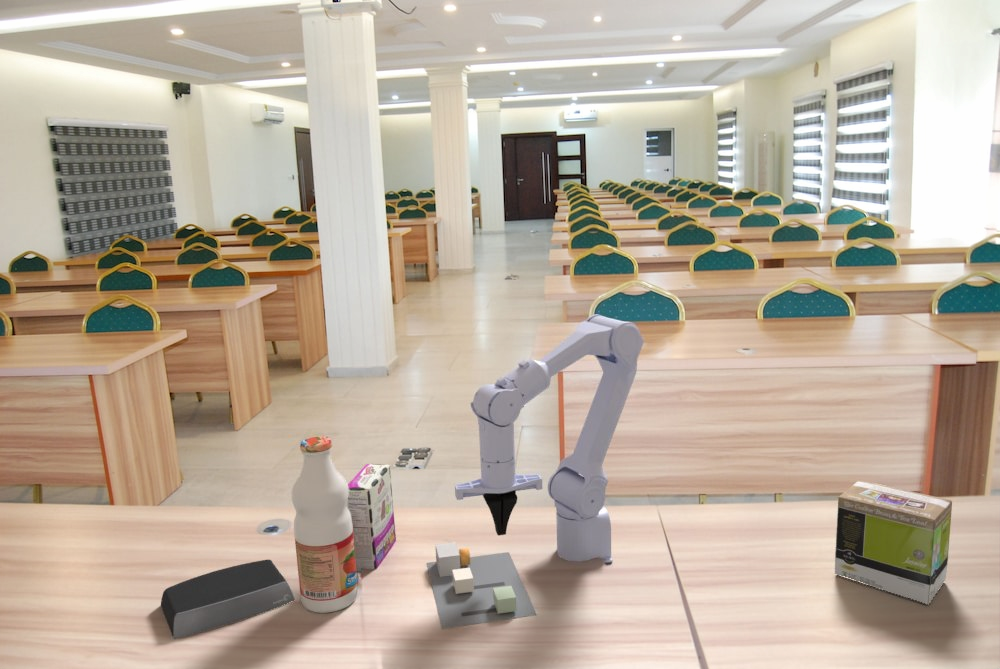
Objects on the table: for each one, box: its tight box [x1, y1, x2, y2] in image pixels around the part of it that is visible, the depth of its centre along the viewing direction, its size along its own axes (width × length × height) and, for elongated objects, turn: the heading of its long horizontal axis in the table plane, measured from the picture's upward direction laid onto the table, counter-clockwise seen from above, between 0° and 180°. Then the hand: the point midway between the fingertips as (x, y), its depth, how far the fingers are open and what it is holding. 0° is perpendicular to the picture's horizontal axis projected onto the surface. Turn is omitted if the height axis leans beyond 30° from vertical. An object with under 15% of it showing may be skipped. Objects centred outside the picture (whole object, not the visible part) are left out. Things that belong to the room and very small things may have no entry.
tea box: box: [834, 479, 953, 605], centre depth 134 cm, size 15×10×15 cm, turn 47°
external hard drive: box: [160, 559, 295, 639], centre depth 135 cm, size 13×19×4 cm
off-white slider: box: [452, 568, 474, 594], centre depth 135 cm, size 3×4×2 cm
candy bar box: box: [347, 463, 397, 573], centre depth 146 cm, size 11×5×16 cm, turn 168°
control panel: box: [426, 541, 538, 630], centre depth 135 cm, size 15×21×5 cm
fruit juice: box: [291, 435, 359, 614], centre depth 132 cm, size 9×9×28 cm
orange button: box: [458, 547, 471, 566], centre depth 142 cm, size 2×3×3 cm, turn 11°
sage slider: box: [493, 586, 517, 614], centre depth 128 cm, size 3×4×2 cm
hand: (500, 532), depth 136 cm, fingers closed
